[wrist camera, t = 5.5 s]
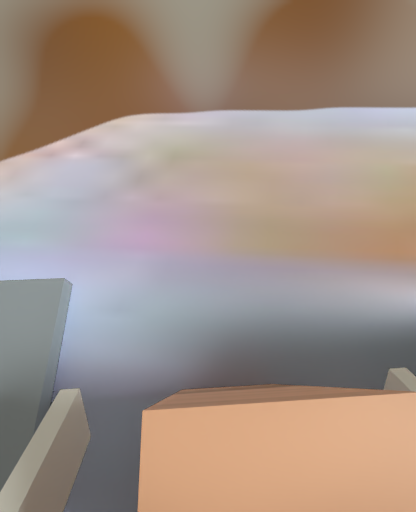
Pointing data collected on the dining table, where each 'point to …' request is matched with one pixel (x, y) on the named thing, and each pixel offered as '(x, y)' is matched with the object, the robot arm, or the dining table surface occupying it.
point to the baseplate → (28, 359)
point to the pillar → (279, 450)
